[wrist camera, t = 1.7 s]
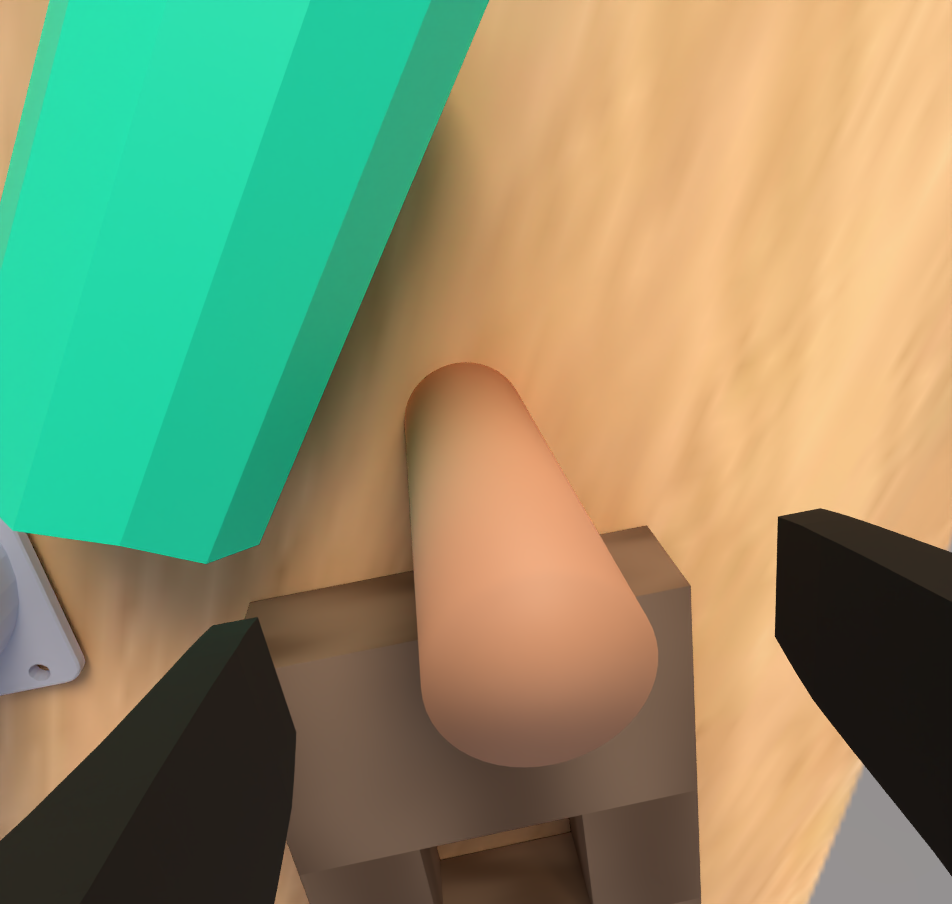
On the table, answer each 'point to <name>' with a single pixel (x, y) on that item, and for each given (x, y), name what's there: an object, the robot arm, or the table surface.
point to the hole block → (478, 763)
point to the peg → (513, 584)
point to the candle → (198, 249)
